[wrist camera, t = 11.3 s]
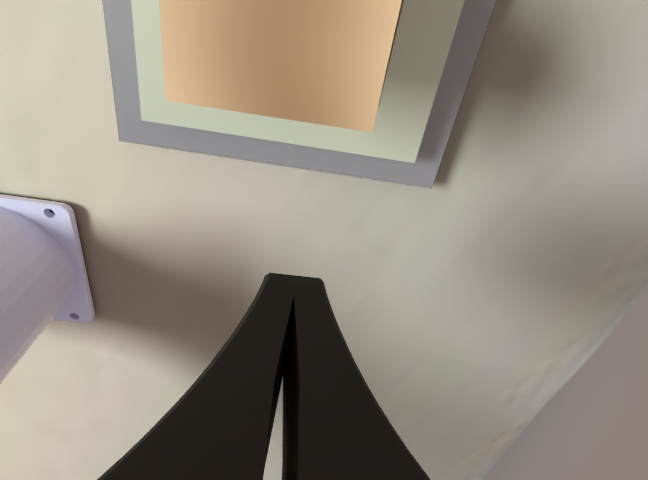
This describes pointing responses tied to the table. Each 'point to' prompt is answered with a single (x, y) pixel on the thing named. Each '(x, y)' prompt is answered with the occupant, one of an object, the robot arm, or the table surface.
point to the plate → (301, 137)
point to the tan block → (280, 57)
